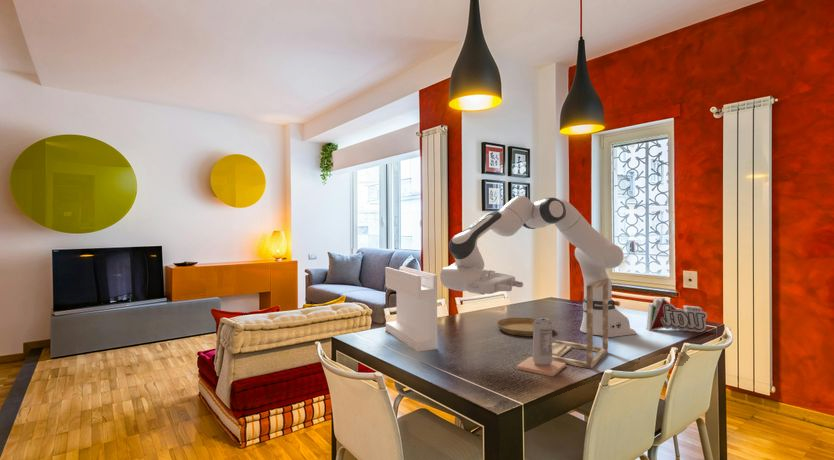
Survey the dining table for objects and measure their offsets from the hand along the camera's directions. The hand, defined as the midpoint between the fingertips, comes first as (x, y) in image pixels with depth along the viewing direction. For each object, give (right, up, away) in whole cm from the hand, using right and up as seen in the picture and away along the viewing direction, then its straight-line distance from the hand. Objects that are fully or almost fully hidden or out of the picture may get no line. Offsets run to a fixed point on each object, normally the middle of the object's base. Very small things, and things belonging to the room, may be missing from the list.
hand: (516, 286), depth 148 cm
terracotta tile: (+7, -26, -5) cm, 27 cm away
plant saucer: (+13, -25, +44) cm, 52 cm away
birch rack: (+22, -25, +8) cm, 34 cm away
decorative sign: (+80, -25, +43) cm, 94 cm away
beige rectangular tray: (+17, -25, +12) cm, 32 cm away
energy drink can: (+7, -25, -5) cm, 27 cm away
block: (-37, -25, +30) cm, 54 cm away
